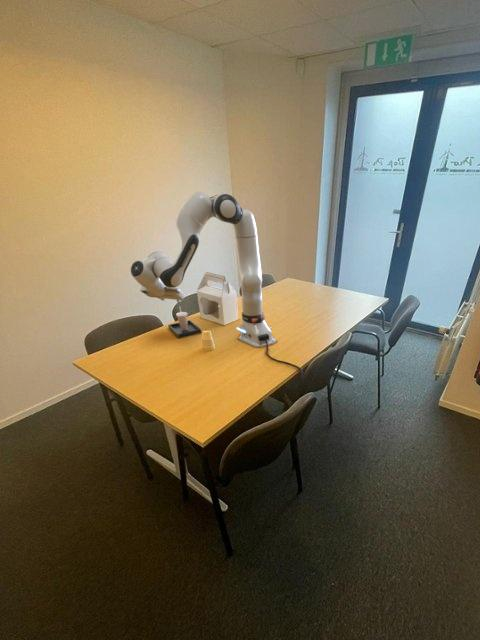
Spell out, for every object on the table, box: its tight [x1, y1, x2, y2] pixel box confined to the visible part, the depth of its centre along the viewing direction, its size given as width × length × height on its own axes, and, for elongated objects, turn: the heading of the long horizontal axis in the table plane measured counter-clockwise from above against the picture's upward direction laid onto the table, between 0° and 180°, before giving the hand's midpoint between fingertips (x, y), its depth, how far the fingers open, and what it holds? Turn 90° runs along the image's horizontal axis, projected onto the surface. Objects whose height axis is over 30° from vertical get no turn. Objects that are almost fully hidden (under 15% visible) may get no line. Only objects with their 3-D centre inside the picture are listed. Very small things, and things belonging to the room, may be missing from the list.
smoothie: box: [175, 305, 189, 331], centre depth 172 cm, size 6×6×14 cm
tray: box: [167, 319, 202, 339], centre depth 176 cm, size 17×14×2 cm
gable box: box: [196, 271, 239, 326], centre depth 186 cm, size 22×13×28 cm, turn 55°
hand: (171, 300), depth 159 cm, fingers open, 8 cm apart
